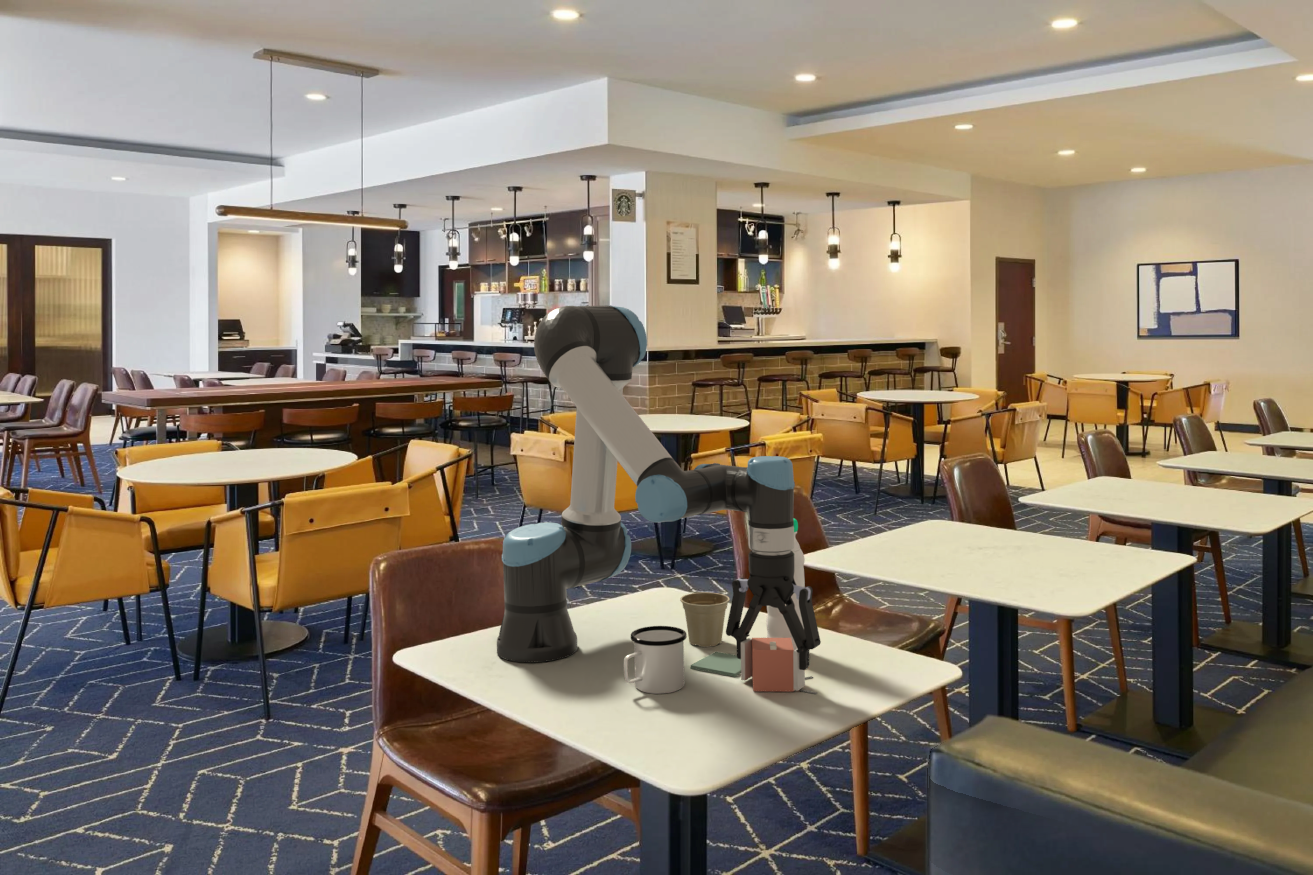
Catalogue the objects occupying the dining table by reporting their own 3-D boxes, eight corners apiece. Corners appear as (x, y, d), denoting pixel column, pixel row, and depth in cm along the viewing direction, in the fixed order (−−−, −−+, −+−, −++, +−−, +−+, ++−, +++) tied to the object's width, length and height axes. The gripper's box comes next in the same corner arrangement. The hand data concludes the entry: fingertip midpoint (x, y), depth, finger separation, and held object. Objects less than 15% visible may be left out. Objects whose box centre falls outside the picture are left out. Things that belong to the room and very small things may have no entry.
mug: (663, 672, 180) (662, 622, 179) (699, 686, 172) (698, 633, 171) (608, 688, 172) (606, 636, 171) (643, 703, 165) (642, 648, 164)
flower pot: (740, 643, 195) (739, 599, 194) (700, 653, 190) (699, 607, 189) (710, 632, 203) (709, 589, 202) (671, 641, 198) (670, 597, 197)
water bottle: (804, 659, 185) (803, 522, 183) (764, 657, 187) (763, 521, 184) (806, 647, 192) (805, 515, 190) (768, 645, 193) (767, 514, 191)
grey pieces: (759, 686, 172) (759, 663, 171) (783, 671, 179) (783, 649, 178) (812, 696, 166) (812, 672, 166) (834, 680, 173) (834, 657, 173)
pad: (690, 668, 181) (690, 665, 181) (716, 654, 189) (716, 651, 189) (735, 676, 176) (735, 673, 176) (759, 662, 184) (759, 659, 184)
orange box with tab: (752, 677, 175) (751, 634, 175) (790, 677, 175) (790, 634, 174) (753, 691, 169) (753, 646, 168) (793, 691, 169) (793, 646, 168)
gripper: (703, 548, 172) (705, 678, 175) (822, 561, 161) (823, 701, 163) (725, 540, 179) (726, 665, 181) (842, 552, 167) (842, 686, 169)
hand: (772, 682), depth 172 cm, fingers closed on orange box with tab, 9 cm apart
